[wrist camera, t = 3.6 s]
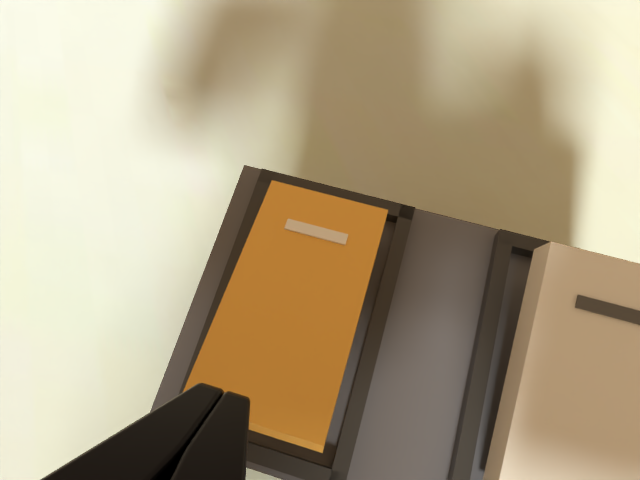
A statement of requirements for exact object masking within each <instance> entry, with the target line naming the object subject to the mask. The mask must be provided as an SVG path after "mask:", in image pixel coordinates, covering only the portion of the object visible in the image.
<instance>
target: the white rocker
mask: <svg viewBox="0 0 640 480" xmlns="http://www.w3.org/2000/svg"><path fill="white" fill-rule="evenodd" d="M483 480H640V264H638V263H634V262H630V261H627V260H623V259H619V258H615V257H611V256H607V255H603V254H599V253H595V252H591V251H587V250H583V249H579V248H575V247H571V246H567V245H563V244H559V243H555V242H549V243H547V244H545V245H542V246H540V247H538V248H536V249H534V252H533V256H532V261H531V265H530V270H529V274H528V279H527V283H526V288H525V292H524V297H523V301H522V306H521V310H520V314H519V319H518V323H517V328H516V332H515V337H514V341H513V346H512V350H511V355H510V359H509V364H508V368H507V373H506V377H505V382H504V386H503V391H502V395H501V400H500V404H499V409H498V413H497V418H496V422H495V427H494V431H493V436H492V440H491V445H490V449H489V454H488V458H487V463H486V467H485V472H484V476H483Z"/></svg>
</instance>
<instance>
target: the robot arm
mask: <svg viewBox="0 0 640 480" xmlns="http://www.w3.org/2000/svg"><path fill="white" fill-rule="evenodd" d="M249 416H250V399H249V397H247V396H244V395H240V394H237V393H234V392H231V391H227V392H225V393H224V391H223V390H222V389H221V388H218V387H215V386H212V385H208V384H205V383H198V384H196V385H194V386H193V387H191V388H189V389H188V390H186V391H184V392H183V393H181V394H180V395H178V396H176V397H175V398H173V399H171V400H170V401H168V402H166V403H165V404H163V405H162V406H160V407H158V408H157V409H155V410H153V411H152V412H150V413H149V414H147V415H145V416H144V417H142V418H140V419H139V420H137V421H135V422H134V423H132V424H131V425H129V426H127V427H126V428H124V429H122V430H121V431H119V432H117V433H116V434H114V435H113V436H111V437H109V438H108V439H106V440H104V441H103V442H101V443H100V444H98V445H96V446H95V447H93V448H91V449H90V450H88V451H86V452H85V453H83V454H82V455H80V456H78V457H77V458H75V459H73V460H72V461H70V462H69V463H67V464H65V465H64V466H62V467H60V468H59V469H57V470H55V471H54V472H52V473H51V474H49V475H47V476H46V477H44V478H42V479H41V480H245V477H246V462H247V446H248V431H249Z"/></svg>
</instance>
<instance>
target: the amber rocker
mask: <svg viewBox="0 0 640 480" xmlns="http://www.w3.org/2000/svg"><path fill="white" fill-rule="evenodd" d="M387 213H388V210H387V209H383V208H379V207H375V206H371V205H367V204H363V203H359V202H355V201H352V200H348V199H344V198H340V197H336V196H332V195H328V194H324V193H320V192H316V191H312V190H308V189H305V188H301V187H297V186H293V185H289V184H285V183H281V182H277V181H273V180H272V181H271V183H270V186H269V188H268V191H267V193H266V195H265V198H264V200H263V203H262V205H261V207H260V210H259V212H258V214H257V217H256V219H255V222H254V224H253V226H252V229H251V231H250V233H249V236H248V238H247V241H246V243H245V245H244V248H243V250H242V252H241V255H240V257H239V260H238V262H237V264H236V267H235V269H234V272H233V274H232V276H231V279H230V281H229V283H228V286H227V288H226V291H225V293H224V295H223V298H222V300H221V302H220V305H219V307H218V310H217V312H216V314H215V317H214V319H213V321H212V324H211V326H210V329H209V331H208V333H207V336H206V338H205V341H204V343H203V345H202V348H201V350H200V352H199V355H198V357H197V360H196V362H195V364H194V367H193V369H192V371H191V374H190V376H189V379H188V381H187V383H186V386H185V388H184V390H183V392H184V391H186V390H188V389H189V388H191V387H193V386H194V385H196V384H198V383H205V384H208V385H212V386H215V387H218V388H221V389H222V390H223V391H224V393H225V392H227V391H231V392H234V393H237V394H240V395H244V396H247V397H249V399H250V416H249V430H252V431H255V432H258V433H261V434H264V435H267V436H271V437H274V438H277V439H280V440H283V441H286V442H289V443H292V444H296V445H299V446H302V447H305V448H308V449H311V450H314V451H317V452H321V453H323V449H324V446H325V442H326V438H327V435H328V431H329V427H330V424H331V420H332V416H333V413H334V409H335V405H336V402H337V398H338V394H339V391H340V387H341V383H342V380H343V376H344V372H345V369H346V365H347V361H348V358H349V354H350V350H351V347H352V343H353V339H354V336H355V332H356V328H357V325H358V321H359V317H360V314H361V310H362V306H363V303H364V299H365V295H366V292H367V288H368V284H369V281H370V277H371V273H372V270H373V266H374V262H375V259H376V255H377V251H378V248H379V244H380V240H381V237H382V233H383V229H384V225H385V221H386V217H387Z"/></svg>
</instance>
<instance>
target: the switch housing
mask: <svg viewBox="0 0 640 480" xmlns="http://www.w3.org/2000/svg"><path fill="white" fill-rule="evenodd" d="M272 180H273V181H277V182H281V183H285V184H289V185H293V186H297V187H301V188H305V189H308V190H312V191H316V192H320V193H324V194H328V195H332V196H336V197H340V198H344V199H348V200H352V201H355V202H359V203H363V204H367V205H371V206H375V207H379V208H383V209H387V210H388V213H387V217H386V221H385V225H384V229H383V233H382V237H381V240H380V244H379V248H378V251H377V255H376V259H375V262H374V266H373V270H372V273H371V277H370V281H369V284H368V288H367V292H366V295H365V299H364V303H363V306H362V310H361V314H360V317H359V321H358V325H357V328H356V332H355V336H354V339H353V343H352V347H351V350H350V354H349V358H348V361H347V365H346V369H345V372H344V376H343V380H342V383H341V387H340V391H339V394H338V398H337V402H336V405H335V409H334V413H333V416H332V420H331V424H330V427H329V431H328V435H327V438H326V442H325V446H324V449H323V453H321V452H317V451H314V450H311V449H308V448H305V447H302V446H299V445H296V444H292V443H289V442H286V441H283V440H280V439H277V438H274V437H271V436H267V435H264V434H261V433H258V432H255V431H252V430H249V431H248V446H247V462H246V467H247V468H250V469H253V470H256V471H259V472H262V473H265V474H268V475H271V476H274V477H277V478H280V479H283V480H483V476H484V472H485V467H486V463H487V458H488V454H489V449H490V445H491V440H492V436H493V431H494V427H495V422H496V418H497V413H498V409H499V404H500V400H501V395H502V391H503V386H504V382H505V377H506V373H507V368H508V364H509V359H510V355H511V350H512V346H513V341H514V337H515V332H516V328H517V323H518V319H519V314H520V310H521V306H522V301H523V297H524V292H525V288H526V283H527V279H528V274H529V270H530V265H531V261H532V256H533V252H534V249H536V248H538V247H540V246H542V245H545V244H547V243H549V241H545V240H541V239H537V238H533V237H529V236H526V235H522V234H518V233H514V232H510V231H506V230H502V229H500V230H498V229H494V228H490V227H486V226H482V225H478V224H475V223H471V222H467V221H463V220H459V219H455V218H451V217H447V216H443V215H439V214H435V213H431V212H427V211H423V210H419V209H415V207H411V206H407V205H403V204H399V203H395V202H391V201H387V200H383V199H379V198H376V197H372V196H368V195H364V194H360V193H356V192H352V191H348V190H344V189H340V188H336V187H332V186H328V185H324V184H320V183H316V182H312V181H308V180H304V179H301V178H297V177H293V176H289V175H285V174H281V173H277V172H273V171H269V170H265V169H258V168H254V167H250V166H246V165H244V167H243V170H242V173H241V175H240V178H239V181H238V183H237V186H236V188H235V191H234V194H233V196H232V199H231V202H230V204H229V207H228V209H227V212H226V215H225V217H224V220H223V222H222V225H221V228H220V230H219V233H218V236H217V238H216V241H215V243H214V246H213V249H212V251H211V254H210V257H209V259H208V262H207V264H206V267H205V270H204V272H203V275H202V278H201V280H200V283H199V285H198V288H197V291H196V293H195V296H194V298H193V301H192V304H191V306H190V309H189V312H188V314H187V317H186V319H185V322H184V325H183V327H182V330H181V333H180V335H179V338H178V340H177V343H176V346H175V348H174V351H173V354H172V356H171V359H170V361H169V364H168V367H167V369H166V372H165V374H164V377H163V380H162V382H161V385H160V388H159V390H158V393H157V395H156V398H155V401H154V403H153V406H152V409H151V411H150V412H152V411H153V410H155V409H157V408H158V407H160V406H162V405H163V404H165V403H166V402H168V401H170V400H171V399H173V398H175V397H176V396H178V395H180V394H181V393H183V390H184V388H185V386H186V383H187V381H188V379H189V376H190V374H191V371H192V369H193V367H194V364H195V362H196V360H197V357H198V355H199V352H200V350H201V348H202V345H203V343H204V341H205V338H206V336H207V333H208V331H209V329H210V326H211V324H212V321H213V319H214V317H215V314H216V312H217V310H218V307H219V305H220V302H221V300H222V298H223V295H224V293H225V291H226V288H227V286H228V283H229V281H230V279H231V276H232V274H233V272H234V269H235V267H236V264H237V262H238V260H239V257H240V255H241V252H242V250H243V248H244V245H245V243H246V241H247V238H248V236H249V233H250V231H251V229H252V226H253V224H254V222H255V219H256V217H257V214H258V212H259V210H260V207H261V205H262V203H263V200H264V198H265V195H266V193H267V191H268V188H269V186H270V183H271V181H272Z"/></svg>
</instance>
